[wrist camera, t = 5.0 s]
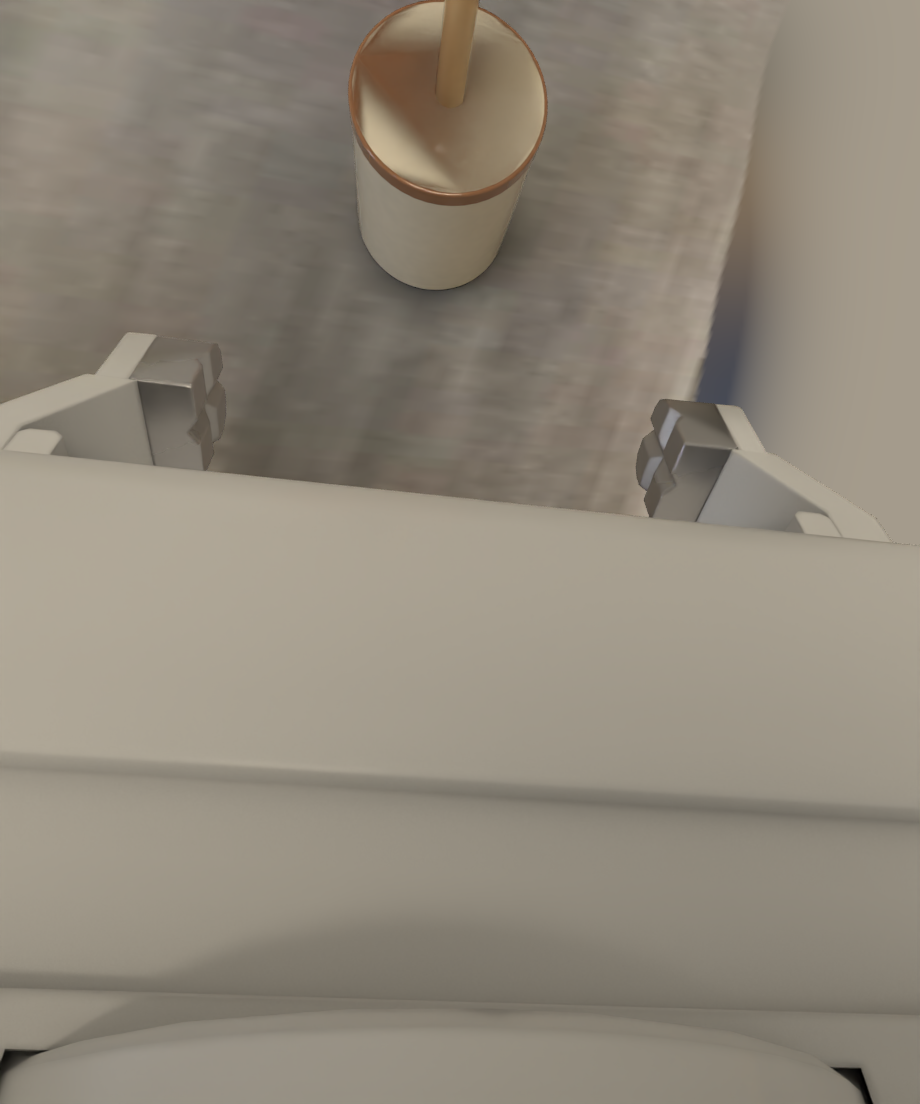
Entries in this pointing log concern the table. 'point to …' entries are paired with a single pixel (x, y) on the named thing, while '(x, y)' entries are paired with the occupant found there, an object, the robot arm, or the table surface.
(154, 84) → the table surface
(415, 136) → the crock
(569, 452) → the table surface
